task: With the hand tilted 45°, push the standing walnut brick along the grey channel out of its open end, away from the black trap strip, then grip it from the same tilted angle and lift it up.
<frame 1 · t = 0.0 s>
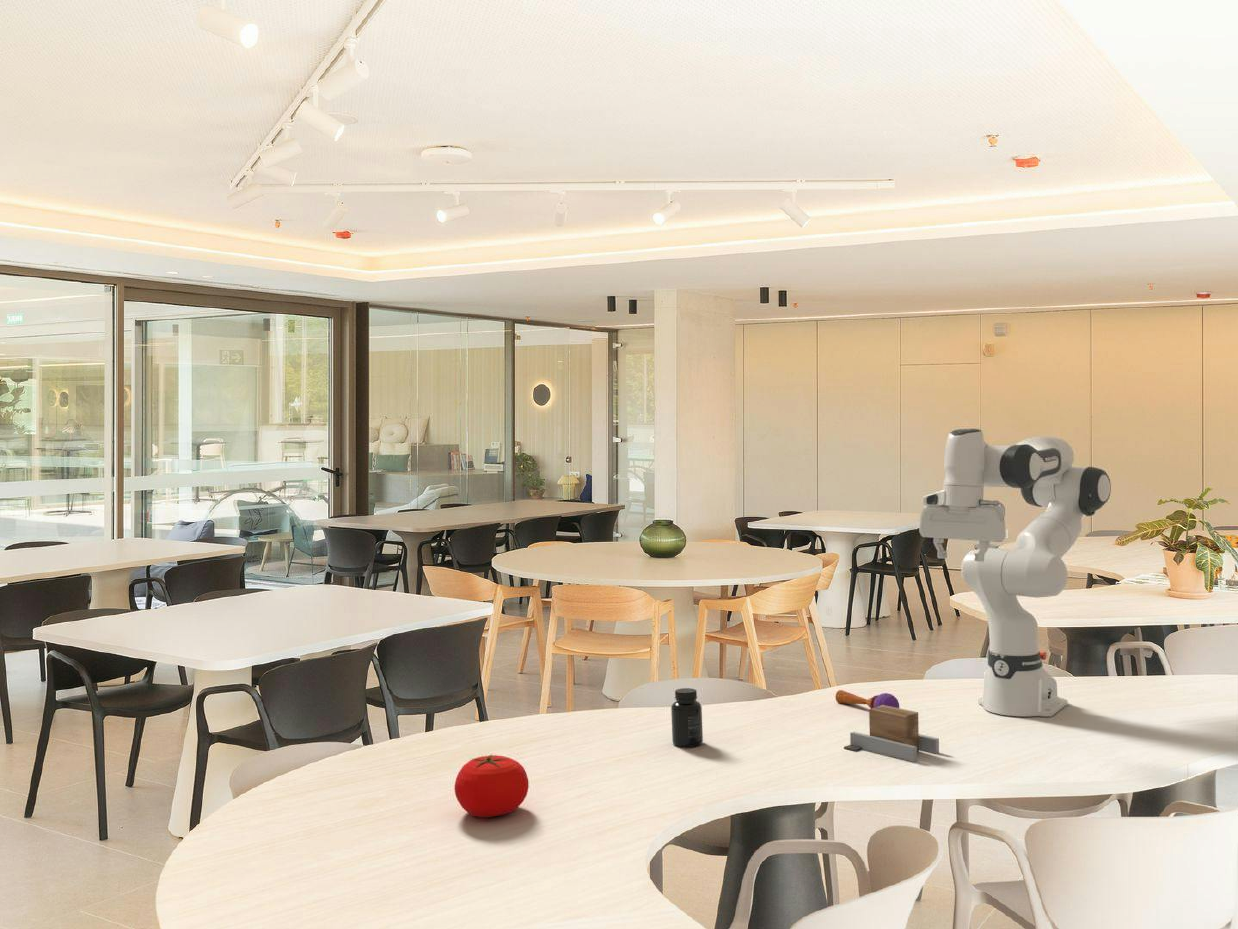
hand: (960, 560, 246), 39 cm above the table, tool pointing down, fingers open, 8 cm apart
block: (894, 749, 234), resting in channel
tomato: (492, 814, 201), on the table
channel: (894, 749, 234), on the table
supplement bottle: (687, 744, 241), on the table
purple maraca: (866, 712, 265), on the table
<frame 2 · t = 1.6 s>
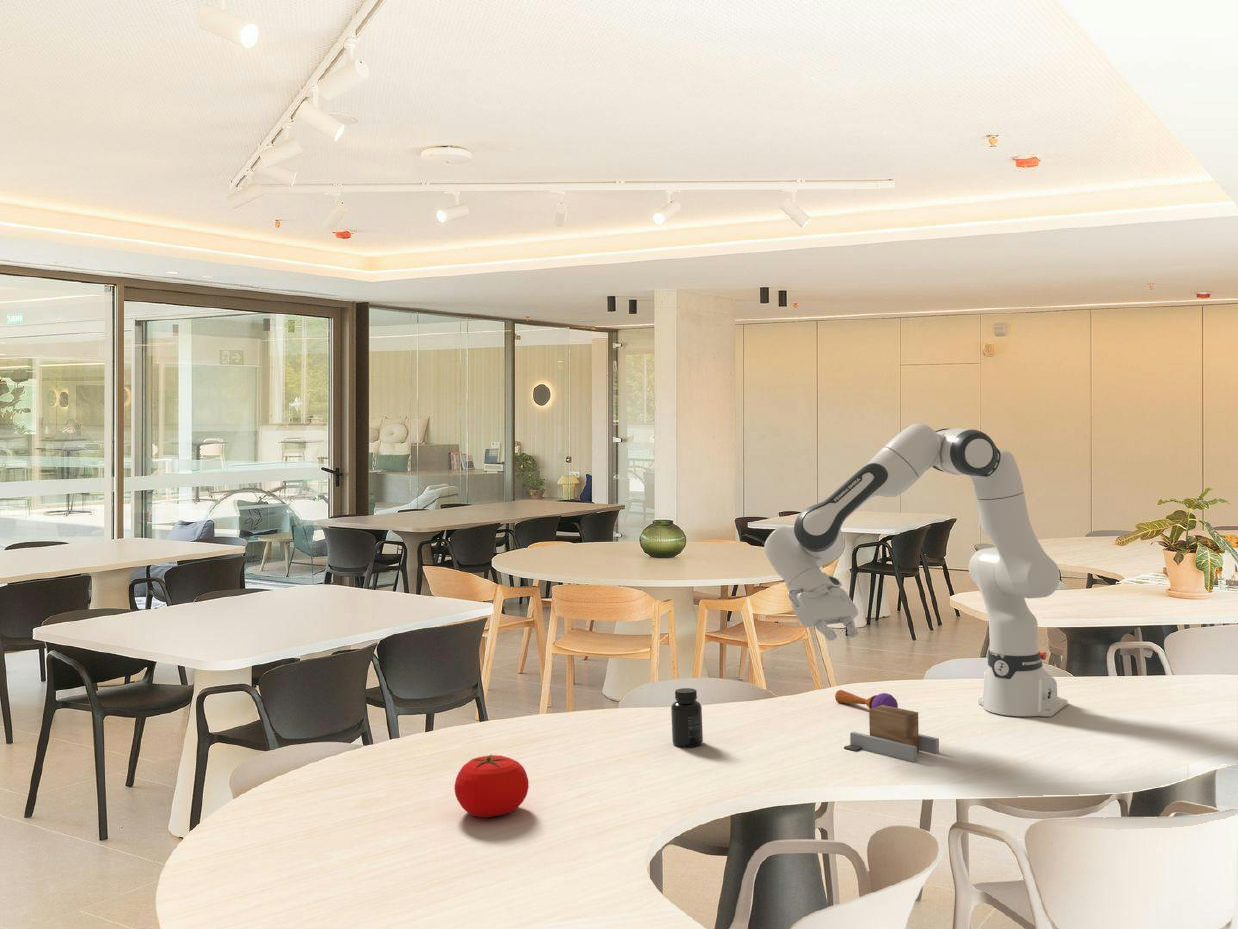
hand: (844, 637, 244), 22 cm above the table, tool tilted 40°, fingers open, 8 cm apart
nothing on the table moved.
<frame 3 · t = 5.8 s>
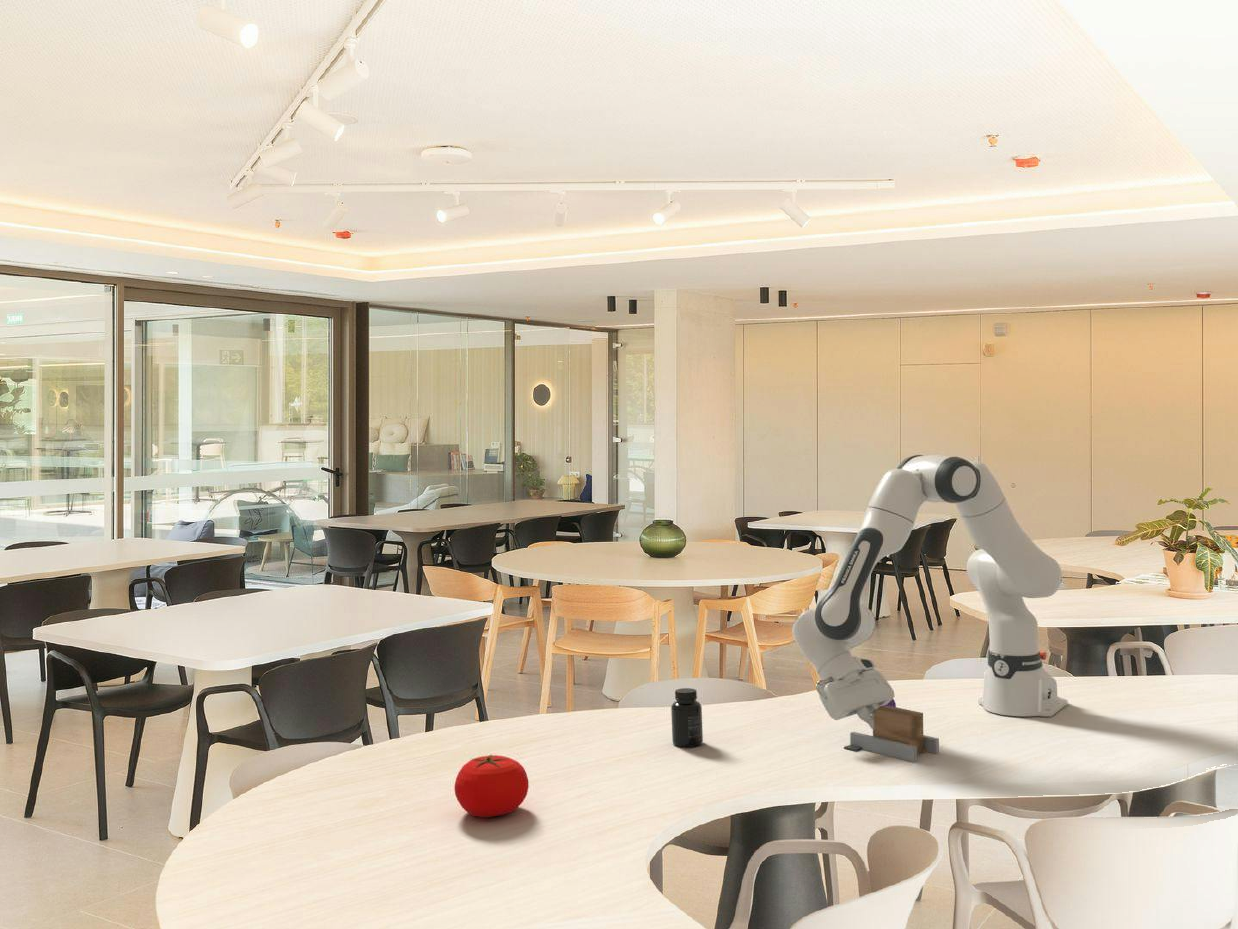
hand: (878, 726, 236), 4 cm above the table, tool tilted 45°, fingers closed, pressing on block
block: (898, 750, 233), resting in channel, touching gripper
everything else where it was.
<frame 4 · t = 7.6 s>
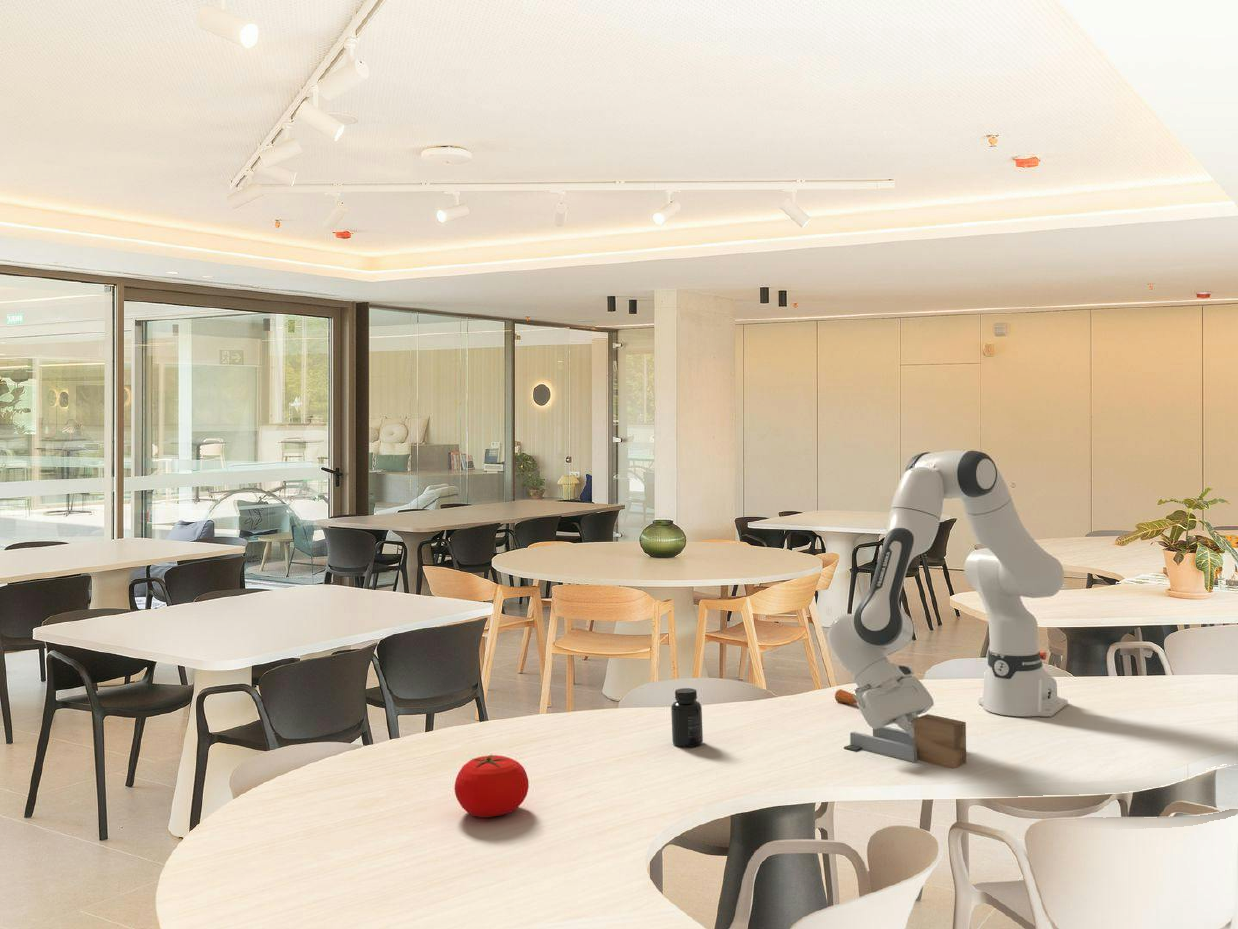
hand: (918, 735, 229), 4 cm above the table, tool tilted 45°, fingers closed, pressing on block
block: (940, 761, 225), on the table, touching gripper
everything else where it was.
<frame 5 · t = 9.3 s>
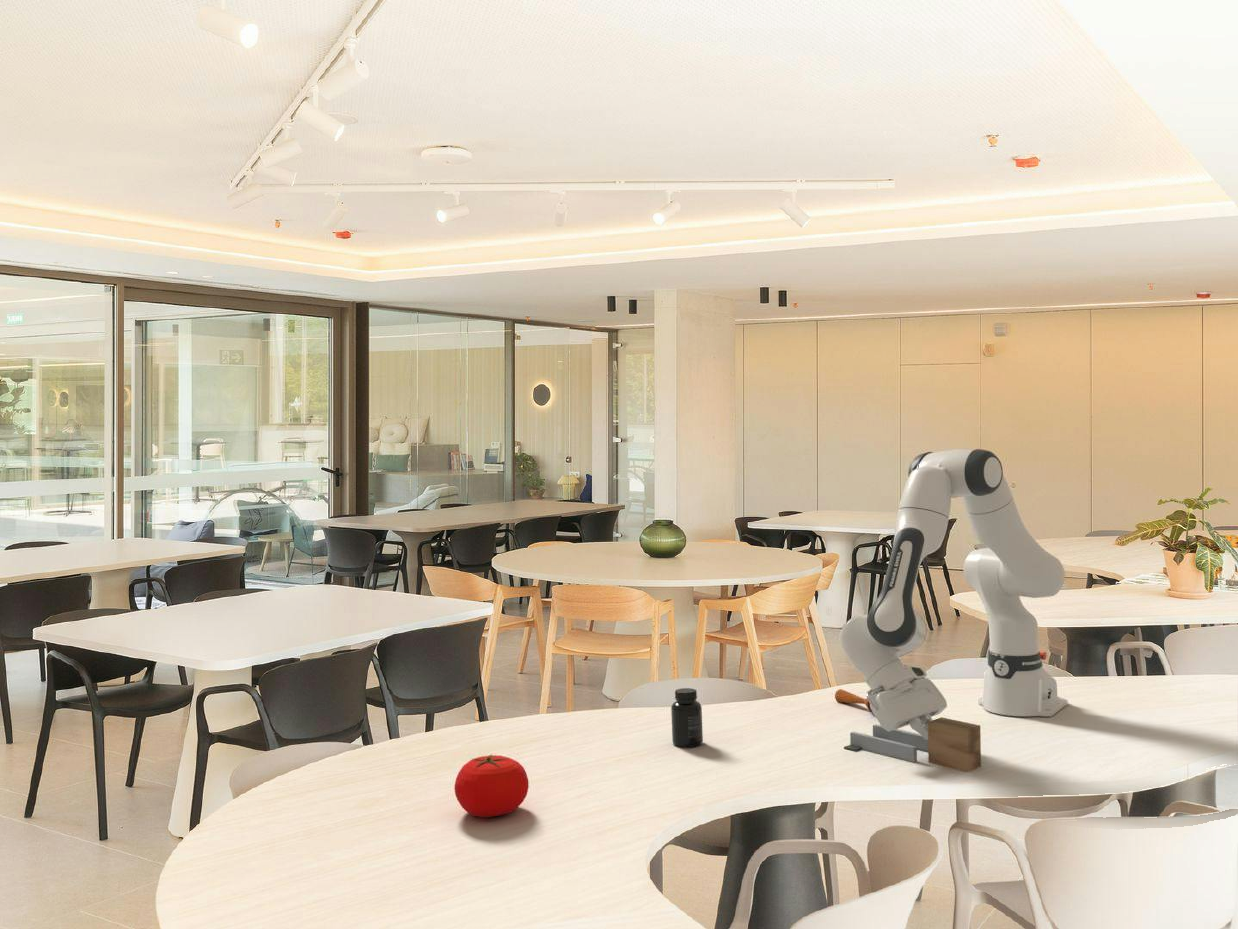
hand: (932, 737, 226), 4 cm above the table, tool tilted 45°, fingers closed
block: (954, 764, 222), on the table
everything else where it was.
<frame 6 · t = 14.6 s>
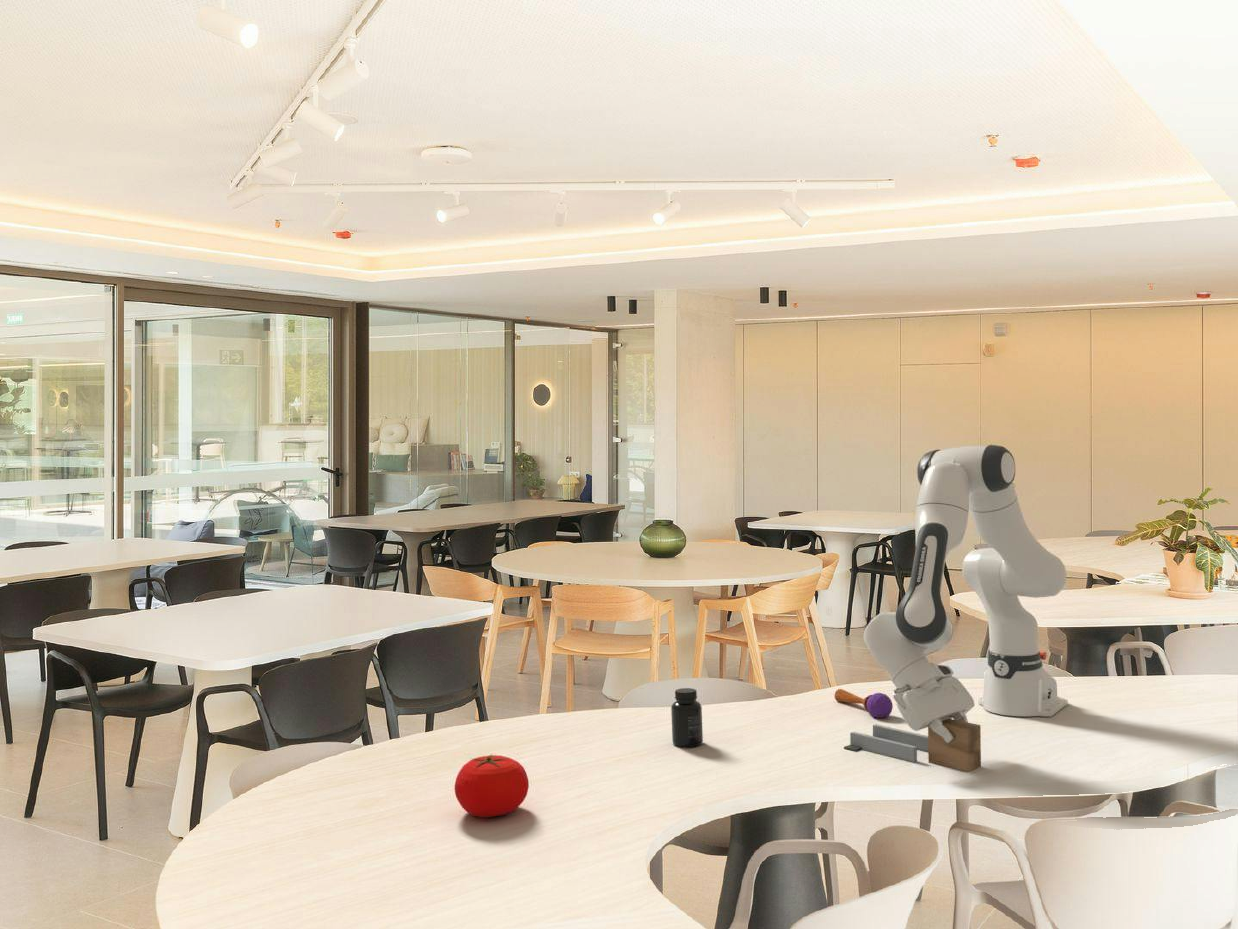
hand: (960, 737, 221), 6 cm above the table, tool tilted 45°, fingers closed on block, 5 cm apart
block: (954, 764, 222), on the table, touching gripper
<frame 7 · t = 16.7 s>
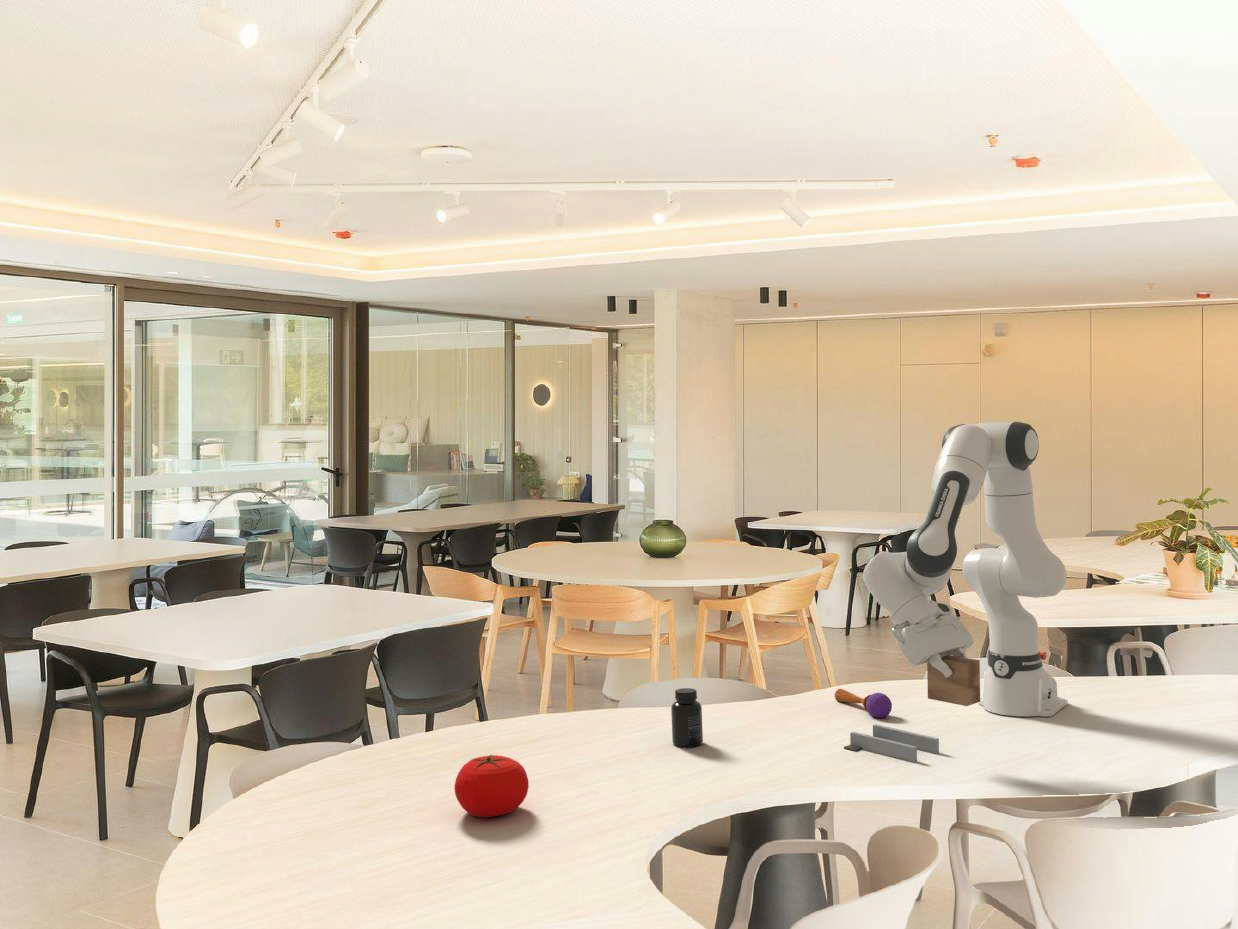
hand: (959, 672, 221), 19 cm above the table, tool tilted 45°, fingers closed on block, 5 cm apart
block: (953, 700, 222), point 13 cm above the table, touching gripper
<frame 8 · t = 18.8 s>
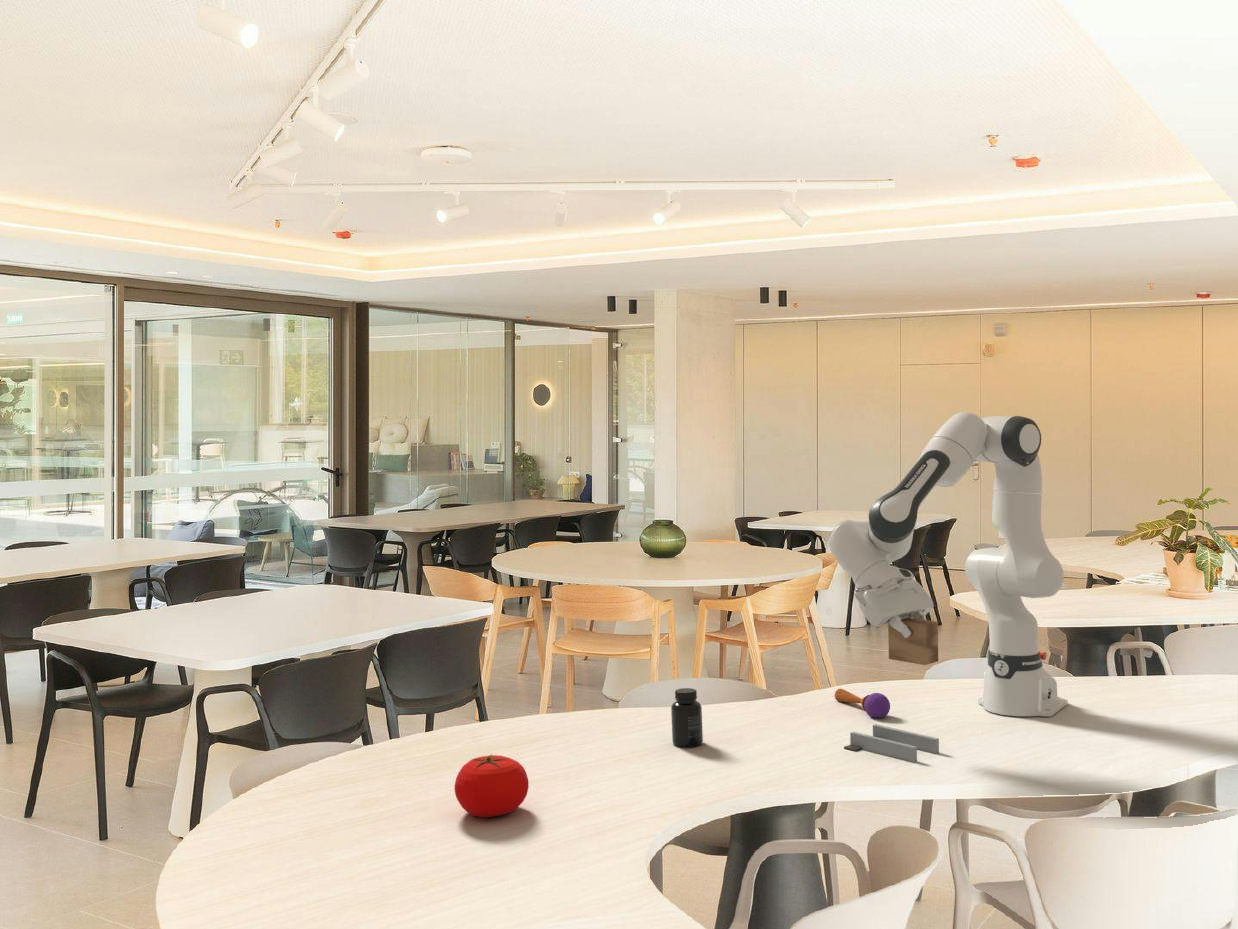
hand: (918, 633, 231), 25 cm above the table, tool tilted 45°, fingers closed on block, 5 cm apart
block: (913, 660, 232), point 19 cm above the table, touching gripper
at the end: block point 19.4 cm above the table; the gripper is holding block; block touching gripper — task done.
